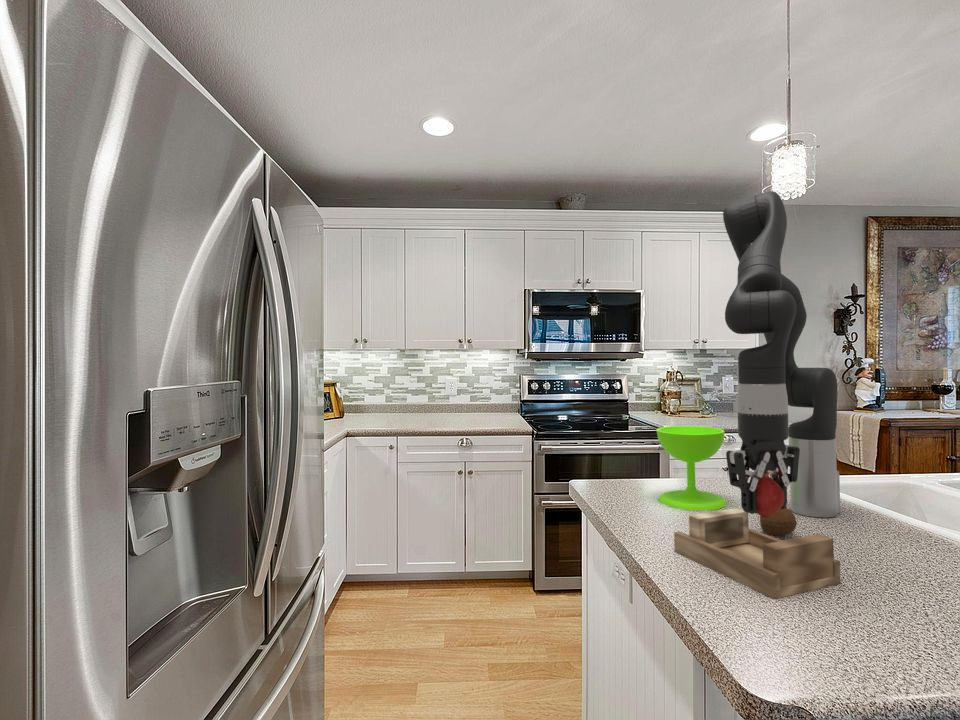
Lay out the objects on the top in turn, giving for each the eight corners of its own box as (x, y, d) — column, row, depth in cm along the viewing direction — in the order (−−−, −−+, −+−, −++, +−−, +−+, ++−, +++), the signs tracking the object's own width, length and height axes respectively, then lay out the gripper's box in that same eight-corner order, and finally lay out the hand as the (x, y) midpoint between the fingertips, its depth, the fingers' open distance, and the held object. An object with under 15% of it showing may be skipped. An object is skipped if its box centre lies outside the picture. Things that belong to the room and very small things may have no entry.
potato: (793, 529, 112) (792, 499, 112) (800, 544, 103) (800, 512, 103) (758, 526, 115) (757, 497, 115) (762, 541, 106) (761, 509, 106)
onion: (751, 522, 88) (749, 474, 88) (741, 512, 93) (740, 467, 93) (790, 524, 87) (788, 474, 87) (777, 514, 92) (776, 467, 92)
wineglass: (697, 514, 124) (695, 436, 124) (644, 499, 138) (642, 429, 138) (740, 503, 132) (738, 430, 132) (686, 490, 146) (684, 424, 146)
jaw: (738, 538, 103) (737, 508, 103) (749, 542, 101) (748, 511, 101) (689, 546, 99) (688, 515, 99) (699, 551, 97) (698, 519, 97)
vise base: (732, 540, 106) (731, 504, 106) (840, 583, 85) (839, 538, 85) (674, 551, 101) (673, 513, 101) (774, 598, 81) (772, 551, 81)
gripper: (747, 414, 84) (749, 521, 84) (814, 409, 89) (816, 511, 89) (711, 410, 91) (714, 509, 91) (775, 406, 96) (777, 500, 96)
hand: (764, 509), depth 90 cm, fingers closed on onion, 6 cm apart
